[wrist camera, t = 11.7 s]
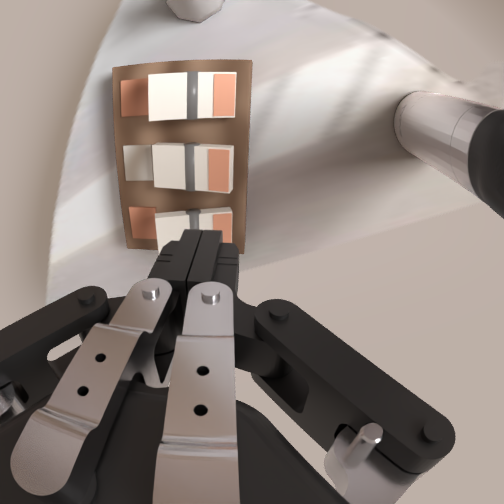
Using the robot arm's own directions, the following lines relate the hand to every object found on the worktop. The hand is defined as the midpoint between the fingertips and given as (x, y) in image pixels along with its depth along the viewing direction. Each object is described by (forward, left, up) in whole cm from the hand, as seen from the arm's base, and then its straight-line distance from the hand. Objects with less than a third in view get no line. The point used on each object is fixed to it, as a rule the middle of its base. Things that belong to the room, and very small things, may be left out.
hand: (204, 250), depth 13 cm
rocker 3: (+5, +11, -23) cm, 26 cm away
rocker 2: (+5, +3, -23) cm, 24 cm away
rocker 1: (+5, -5, -23) cm, 24 cm away
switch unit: (+7, +3, -29) cm, 30 cm away
